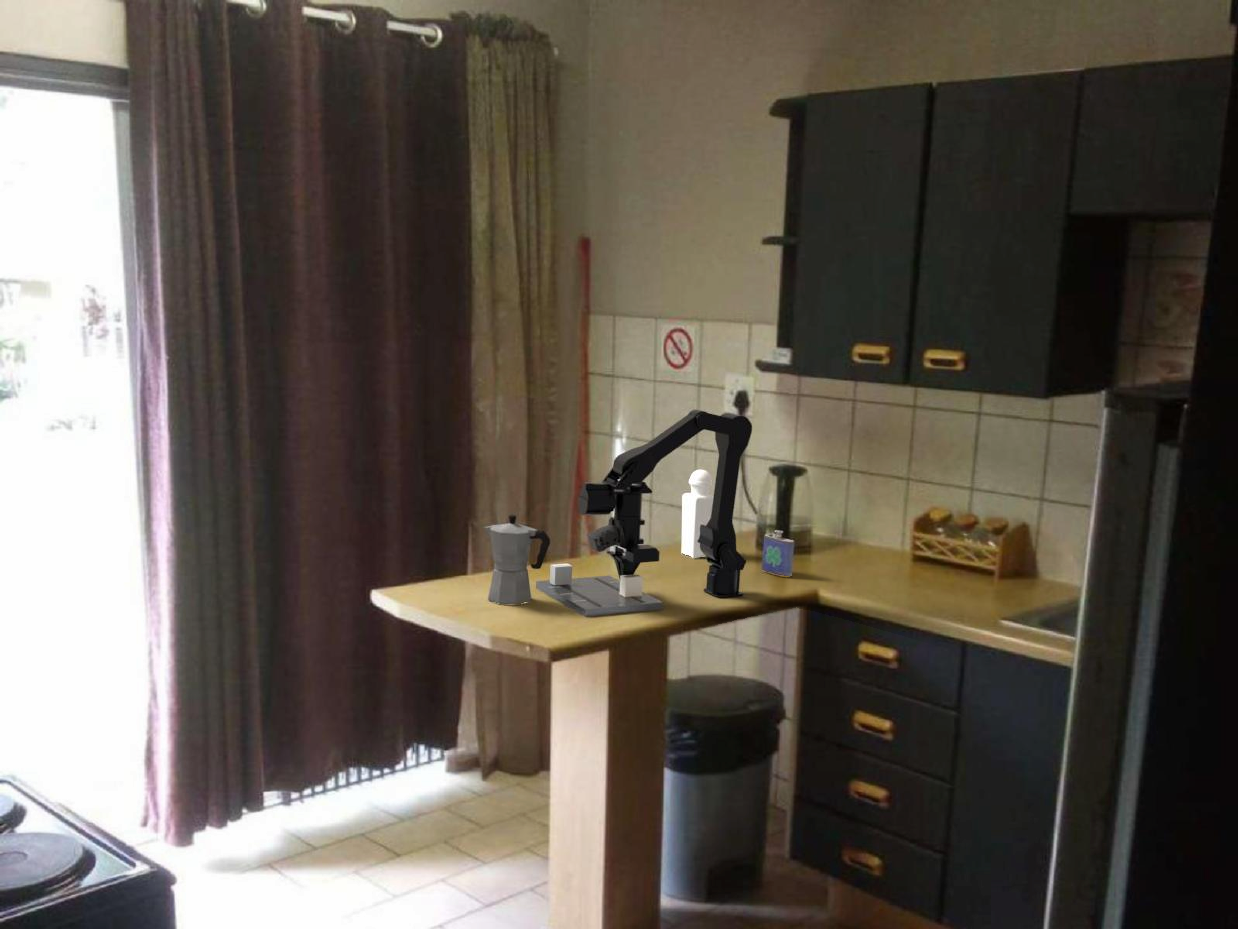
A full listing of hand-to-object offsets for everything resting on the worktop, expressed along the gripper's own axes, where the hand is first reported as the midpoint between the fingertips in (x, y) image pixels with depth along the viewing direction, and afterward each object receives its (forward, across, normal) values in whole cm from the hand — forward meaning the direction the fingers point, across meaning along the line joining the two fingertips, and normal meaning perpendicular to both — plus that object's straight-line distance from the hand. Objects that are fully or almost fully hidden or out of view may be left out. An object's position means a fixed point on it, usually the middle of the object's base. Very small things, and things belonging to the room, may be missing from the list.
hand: (624, 586), depth 243 cm
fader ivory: (+1, +3, 0) cm, 3 cm away
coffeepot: (+3, -6, -23) cm, 24 cm away
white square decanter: (+3, -32, +38) cm, 50 cm away
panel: (+3, -2, -5) cm, 6 cm away
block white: (+1, -10, -10) cm, 14 cm away
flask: (+3, -9, +46) cm, 47 cm away
